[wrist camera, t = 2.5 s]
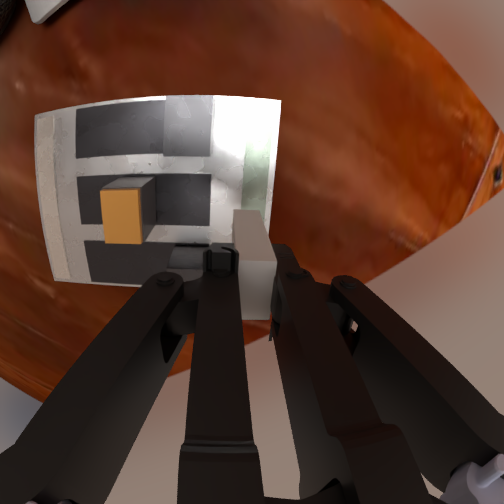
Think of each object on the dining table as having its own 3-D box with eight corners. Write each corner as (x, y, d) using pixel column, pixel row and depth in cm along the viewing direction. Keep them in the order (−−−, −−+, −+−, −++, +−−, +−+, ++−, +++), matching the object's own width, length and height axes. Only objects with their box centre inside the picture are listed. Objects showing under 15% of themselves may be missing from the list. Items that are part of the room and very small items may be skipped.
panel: (62, 271, 26) (35, 303, 20) (46, 114, 19) (6, 117, 13) (259, 280, 28) (268, 319, 23) (276, 102, 21) (294, 94, 15)
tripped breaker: (123, 223, 22) (104, 244, 18) (120, 177, 20) (98, 189, 16) (156, 223, 22) (142, 245, 18) (155, 176, 21) (139, 188, 17)
